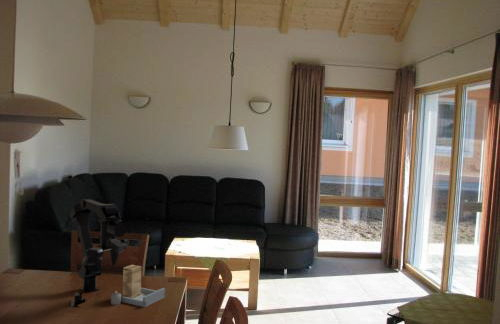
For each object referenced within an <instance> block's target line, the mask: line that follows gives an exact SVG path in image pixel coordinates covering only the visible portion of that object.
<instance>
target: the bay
mask: <svg viewBox="0 0 500 324" xmlns="http://www.w3.org/2000/svg"><path fill="white" fill-rule="evenodd" d="M164 298H166V287H162V288H160V289H158V290H155V289H149V288H145V287H141V296H138V297H136V298H134V299H133V298H129V297H124V296H122V293H121V292H118V290H115V291H114V292H112V293H111V294H110V304H111V305H112V306H113V305H114V306H117V305H121V304H122V303H124V304H125V303H126V304H129V305H134V306H137V307H143V308H146V307H148V306H150V305H152V304H154V303H156V302H158V301H160V300H163V299H164Z"/></svg>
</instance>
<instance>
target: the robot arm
mask: <svg viewBox="0 0 500 324" xmlns="http://www.w3.org/2000/svg"><path fill="white" fill-rule="evenodd" d="M93 212H94V213H96V215H97V216H98V217H99V219H98V222H99V223H100V235H98V239H100V240H99V242H100V244H98V245H97V247H94V245H93V240H92V236H91V232H90V228H89V223H90V220H91V215H92V213H93ZM69 217H70V220H71V223H73V225H74V226H75V227H76V229H77V233H78V237H79V240H80V241H79V242H80V246H81V249H82V254H83V258H82V261H81V267H80V269H79V270H78V274H77V275H78V277H79V278H80V279H82V286H81V287H79V289H80V290H81V291H82V292H84V293H87V292H88V293H89V292H94V291H99V287H97V277H101V275H102V271H103V267H104V266H103V262H102V259H103V258H104V257H105V256H104V253H105V252H109V251H110V252H109V253H110V258H111V265H112V266H113V267H115V266H116V264H117V262H118V258H119V257H120V254H121V253H122V252H124V251H125V250H126V249H127V246H128V245H127V244H128V240H127V239H126V238H122V237H123V236H125V235H126V232H127V226H126V225H125V224H124V223H123V220H122V216H121V214H120V211H119V210H118V206H117V204H115V203H101V202H99V201H97V200H94V199H92V198H86V199H81V200H79V202H78V203H77V204H75V205H74V206H73V207H72V208H71V209H70V211H69ZM118 238H122V239H118Z"/></svg>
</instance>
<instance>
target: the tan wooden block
mask: <svg viewBox="0 0 500 324" xmlns="http://www.w3.org/2000/svg"><path fill="white" fill-rule="evenodd" d="M142 269H143V268H142V266H141V265H138V264H137V265H135V264H130V265H127V266H125V267H123V268H122V273H123V274H122V294H121V296H124V297H129V298H133V299H134V298H136V297H138V296H141V288H142Z"/></svg>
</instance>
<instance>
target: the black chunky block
mask: <svg viewBox="0 0 500 324" xmlns="http://www.w3.org/2000/svg"><path fill="white" fill-rule="evenodd" d="M83 303H86V298H83V291H82V292H74V299H71V300H70V308H71V309H75V308H80V306H79V305H82V304H83Z"/></svg>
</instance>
